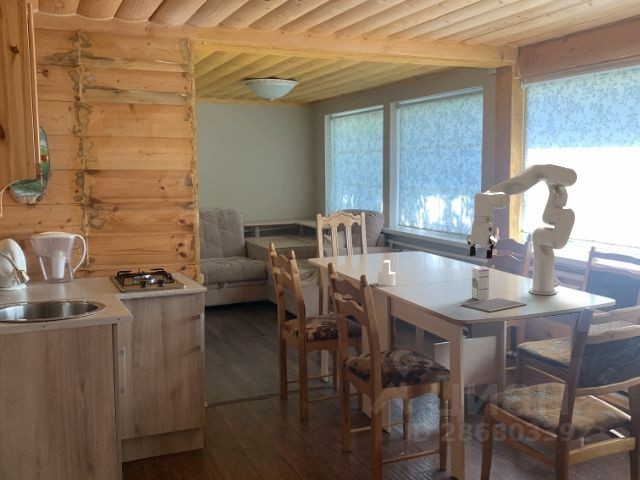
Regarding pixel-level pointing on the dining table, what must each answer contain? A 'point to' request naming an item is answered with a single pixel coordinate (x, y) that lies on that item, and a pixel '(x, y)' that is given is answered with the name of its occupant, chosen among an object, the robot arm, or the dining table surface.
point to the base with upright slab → (386, 275)
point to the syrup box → (480, 283)
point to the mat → (493, 304)
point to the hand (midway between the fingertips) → (480, 257)
